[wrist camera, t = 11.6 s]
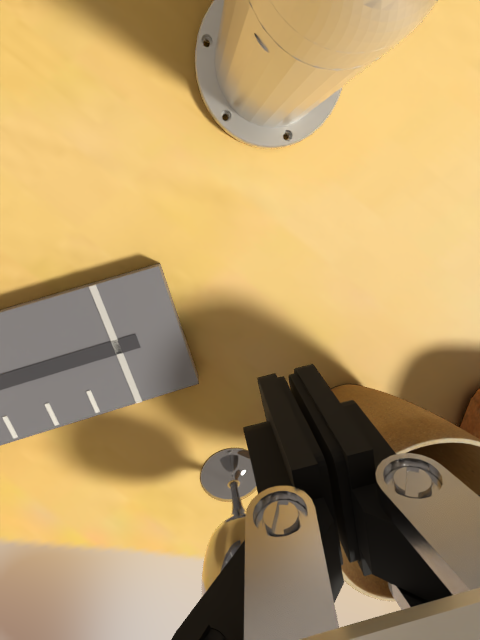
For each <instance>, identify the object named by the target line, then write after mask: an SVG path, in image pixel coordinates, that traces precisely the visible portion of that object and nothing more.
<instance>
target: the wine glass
mask: <svg viewBox="0 0 480 640" xmlns="http://www.w3.org/2000/svg"><path fill="white" fill-rule="evenodd" d="M200 479H201V484H202V487H203V489H204V490H205V492H206V493H207V494H208V495H209V496H211V497H212V498H214V499H216V500H219V501H224V502H232V513H231V516H230V517H229V518H228V519H227V520H225V521H224V522H222V523H221V524H220V525H219V526H218V528H217V529H216V530H215V531H214V533H213V534H212V536H211V538H210V540H209V543H208V545H207V549H206V553H205V558H204V563H203V572H202V597H203V595H204V594H205V592H206V591H207V590H208V588H209V587H210V586H211V584H212V583H213V582H214V580H215V579H216V578H217V576H218V575H219V574H220V572H221V571H222V570H223V568H224V567H225V566H226V564H227V563H228V562H229V560H230V559H231V558H232V556H233V555H234V554H235V552H236V551H237V550H238V548H239V547H240V546H241V544H242V543H243V542H244V540H245V516H246V510H245V509H244V507H243V504H242V502H241V500H242V499H244V498H246V497H248V496H249V495H251V494H252V493H253V492H254V491H255V490H256V489H257V487H256V482H255V478H254V473H253V469H252V464H251V460H250V456H249V451H248V450H245V449H240V448H229V449H225V450H221V451H219V452H217V453H215V454H214V455H212V456H211V457H210V458H209V459H208V460H207V461H206V463H205V464H204V466H203V468H202V471H201V477H200Z"/></svg>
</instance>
